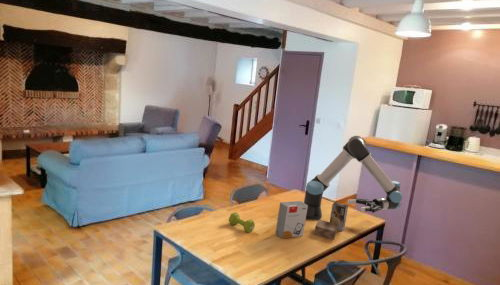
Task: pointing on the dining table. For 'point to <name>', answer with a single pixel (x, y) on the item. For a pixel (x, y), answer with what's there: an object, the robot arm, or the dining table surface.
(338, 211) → the coffee box
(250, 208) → the dining table surface
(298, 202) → the hard drive box
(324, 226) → the walnut block
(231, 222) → the dumbbell
